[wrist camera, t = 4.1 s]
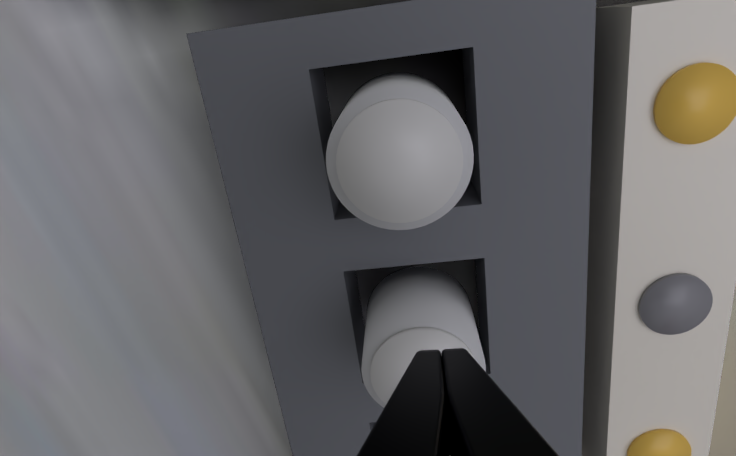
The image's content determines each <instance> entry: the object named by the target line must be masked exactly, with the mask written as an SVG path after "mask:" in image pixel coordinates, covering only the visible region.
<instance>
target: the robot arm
mask: <svg viewBox="0 0 736 456" xmlns="http://www.w3.org/2000/svg"><path fill="white" fill-rule="evenodd" d="M441 355H442V356H441ZM357 456H559V455H558V453H557V452H556V451H555V450H554V449H553V448H552V447H551V445H550V444H549V443H548V442H547V441H546V440H545V439H544V437H543V436H542V435H541V434H540V433H539V432H538V431H537V430H536V428H535V427H534V426H533V425H532V424H531V423H530V422H529V420H528V419H527V418H526V417H525V416H524V415H523V414H522V412H521V411H520V410H519V409H518V408H517V407H516V406H515V405H514V403H513V402H512V401H511V400H510V399H509V398H508V397H507V395H506V394H505V393H504V392H503V391H502V390H501V389H500V387H499V386H498V385H497V384H496V383H495V382H494V381H493V380H492V378H491V377H490V376H489V375H488V374H487V373H486V372H485V370H484V369H483V368H482V367H481V366H480V365H479V364H478V363H477V361H476V360H475V359H474V358H473V357H472V356H471V355H470V353H469V352H468V351H467V350H466V349H464V348H454V349H444V350H442V353H441V352H440V351H439V350H420V351H418V352H416V354H415V356H414V357H413V359H412V361H411V362H410V364H409V366H408V368H407V369H406V371H405V373H404V375H403V376H402V378H401V380H400V381H399V383H398V385H397V387H396V388H395V390H394V392H393V394H392V395H391V397H390V399H389V400H388V402H387V404H386V406H385V407H384V409H383V411H382V413H381V414H380V416H379V418H378V420H377V421H376V423H375V425H374V426H373V428H372V430H371V432H370V433H369V435H368V437H367V439H366V440H365V442H364V444H363V445H362V447H361V449H360V451H359V452H358V454H357Z"/></svg>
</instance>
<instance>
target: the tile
mask: <svg viewBox="0 0 736 456" xmlns="http://www.w3.org/2000/svg"><path fill="white" fill-rule="evenodd" d="M735 285H736V0H646V1H639V2H632V3H625V4H618V5H611V6H604V7H596V21H595V52H594V83H593V114H592V145H591V176H590V207H589V238H588V269H587V301H586V332H585V363H584V394H583V425H582V456H709V450H710V443H711V437H712V431H713V424H714V418H715V412H716V405H717V399H718V393H719V386H720V380H721V374H722V367H723V361H724V355H725V348H726V342H727V335H728V329H729V323H730V316H731V310H732V304H733V297H734V291H735Z"/></svg>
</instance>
